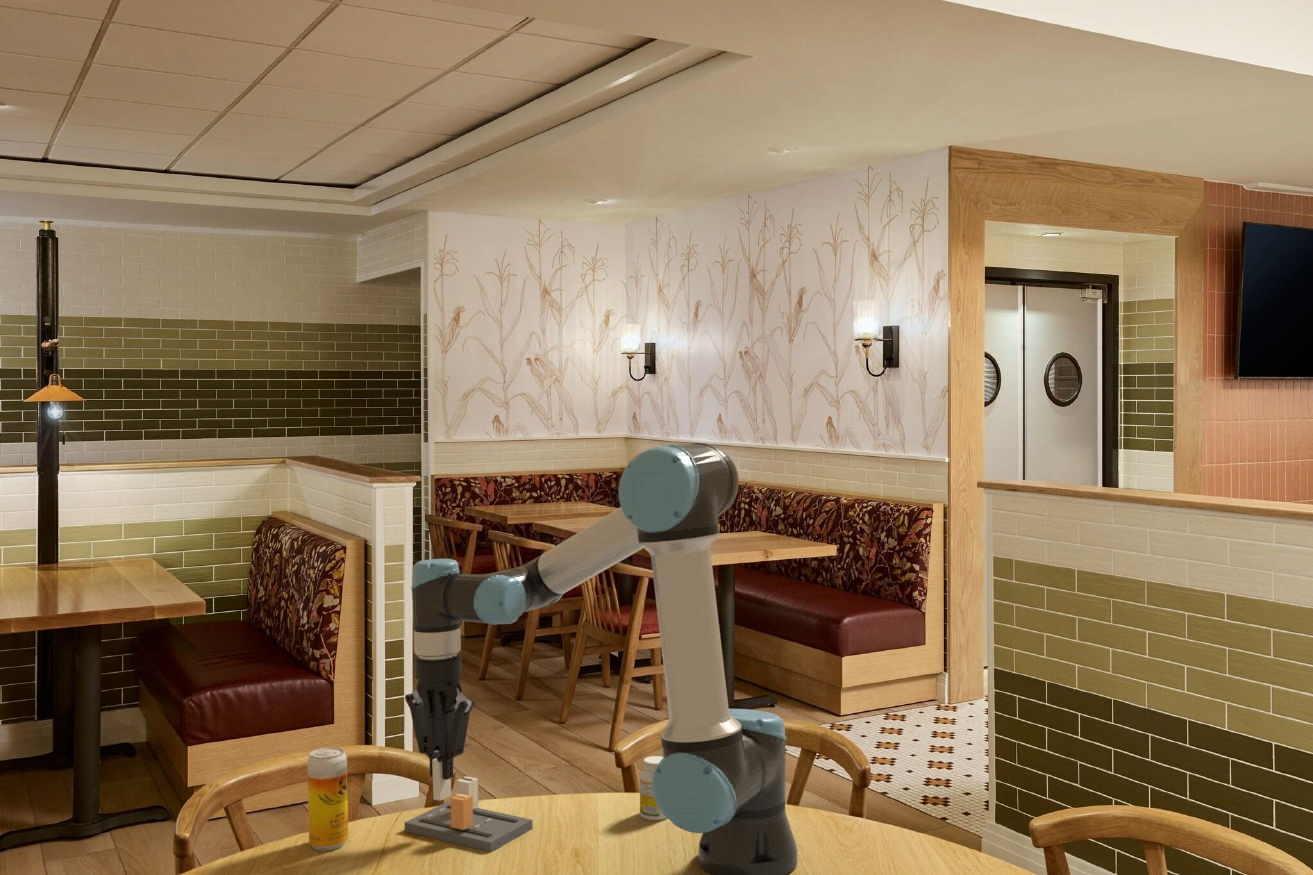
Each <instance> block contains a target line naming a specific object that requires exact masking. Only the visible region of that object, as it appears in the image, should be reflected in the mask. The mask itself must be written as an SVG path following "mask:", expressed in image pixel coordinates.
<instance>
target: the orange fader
mask: <svg viewBox="0 0 1313 875" xmlns="http://www.w3.org/2000/svg"><path fill="white" fill-rule="evenodd" d="M450 802H451V827H452V828H457V829H461V830H465V829H467V828H469V827H471V826H472V825H473V796H470V795H466V794H461V793H460V794H457V793H456V794H455V795H453V796H452V797H451V796H450Z"/></svg>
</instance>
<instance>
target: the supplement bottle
mask: <svg viewBox="0 0 1313 875" xmlns="http://www.w3.org/2000/svg"><path fill="white" fill-rule="evenodd" d="M662 759H663V756H660V755H659V756H658V755H655V756H648V757H645V758H644V759H643V768H644V769H643V771H641V773H640V774H639V814H640V817H642V818H643V819H644V820H648V821H662V820H665V819H667V818H666V817H665V816H664V815H663V813H662V812H661V811H660V809H659V807H658V806H657V803H656V801H655V798H654V795H653V790H652V780H653V775H654V772H655V770H656V768H657V766H658V765H659V763H660V761H661V760H662Z"/></svg>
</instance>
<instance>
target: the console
mask: <svg viewBox="0 0 1313 875" xmlns="http://www.w3.org/2000/svg"><path fill="white" fill-rule="evenodd" d="M531 830H533V819H531V818H525V817H520V816H516V815H514V814H513V815H511V814H507V813H504V812H499V811H498V812H497V811H493V810H488V809H485V808H480V807H476V808H474V809H473V825H472V826H471V827H469V828H467V829H465V830H461V829H457V828H452V827H451V801H446V802H443V803H442V804H440V805H437V806H436V807H434V808H432V809H429V810H427V811H426V812H423V813H421V814H418V815H417V816H415V817H412V818H411V819H409V820H406V821H405V822H404V832H405V833H410V834H415V835H419V836H423V837H427V838H432V839H435V840H439V841H444V842H448V843H452V844H456V845H460V846H465V847H468V848H472V849H478V850H482V851H486V852H489V853H492V852H494V851H496V850H497V849H499V848H500V847H503V846H505V845H506V844H508V843H510V842H511V841H513V840H515V839H517V838H519V837H520V836H522V835H523V834H526V833H527V832H529V831H531Z"/></svg>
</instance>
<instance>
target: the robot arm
mask: <svg viewBox="0 0 1313 875" xmlns="http://www.w3.org/2000/svg"><path fill="white" fill-rule="evenodd" d="M738 490H739V473H738V469H737V467H736V465H735V463H734V461H733V459H732V458H731V457H730V456H729V455H728V454H727V453H726V452H725V451H724V450H722V449H721V448H719V447H717V446H715V445H713V444H708V443H704V442H703V443H702V442H698V443H697V442H695V443H688V444H669V445H666V444H663V445H661V446H655V447H652V448H649V449H646V450H644V451H642V452H640V453H639V454H637V455H635V457H633V458H632V459H631V460H630V461H629V462H628V464H627V466H625V468H624V470H623V472H622V475H621V477H620V480H619V484H618V499H619V500H618V501H619V505H620V507H618V508H617V509H615V510H613V511H612V512H610V513H608V514H606V515H605V516H603V517H602V518H600V519H598V520H596V521H595V522H593V523H592V524H590V525H588V526H587V527H585V528H583V529H582V530H580V531H579V532H576V534H574V535H572V536H570V537H569V538H567V539H565V540H564V541H562V542H560V543H559V544H556V545H555V546H554V547H552V548H550V549H549V550H547V551H546V552H544V553H542V554H541V555H540V556H537V557H536V558H534V559H532V560H531V561H529V562H527V563H525V564H523V565H521V566H517V567H513V568H510V569H509V568H508V569H505V570H501V571H496V572H495V571H494V572H491V573H487V574H466V573H461V571H460V568H459V562H458V561H457V560H455V559H452V558H433V559H432V558H431V559H424V560H420V561H417V562H416V563H414V565H413V567H412V573H411V574H412V575H411V577H412V578H411V579H412V580H411V595H412V610H413V611H412V612H413V652H414V654H415V655H416V657H415V658H414V677H415V679H416V680H417V684H416V689H415V690H414V691H413V692H411V693H409V694H406V695H405V697H404V698H405V699H404V700H405V701H406V704H407V705H408V707H409V710H410V714H411V720H412V725H413V729H414V734H415V738H416V743H417V747H418V748H417V749H418V752H419V753H420V754H425V755H427V757H428V760H429V776H430V777H431V778H432V794H433V796H432V797H433V799H432V800H434V801H443V800H445V799H448V798H449V797H451V796H452V778H453V777H454V758H455V757H458V756H461V755H463V753H464V751H465V750H464V749H465V744H466V737H467V733H468V732H467V731H468V726H469V720H470V715H471V711H472V709H473V707H474V705H475V700H474V699H473V698H472V697H471V698H467V697H466V696H465V695H464V694H463V688H462V687H461V683H460V680H461V677H462V676H463V671H462V670H463V667H462V666H463V665H462V664H463V663H462V655H461V654H460V653H459V652H460V651H461V650H462V647H461V646H462V645H461V644H462V642H461V638H462V637H461V622H473V623H479V624H480V623H482V624H488V625H494V626H497V625H510V624H513V623H515V622H517V621H518V619H519V617H521V616H522V615H523V613H525V612H529V611H533V610H537V609H544V608H546V607H548V606H551V605H553V604H555V603H557V602H558V601H559V600H561V599H562V597H563V595H564V594H565V593H567V592H569V591H571V590H572V589H575V587H578V586H579V585H581V584H583V583H584V582H587V581H588V580H590V579H592V578H593V577H595V576H597V575H598V574H601V573H602V572H604V571H605V570H607V569H609V568H611V567H613V566H614V565H616V564H618V563H620V562H622V561H623V560H625V559H627V558H628V557H631V556H632V555H635V553H637V552H639V551H641V550H643V549H644V550H645V551H646V552H647V553H649V555H650V558H651V559H650V560H651V561H650V562H651V569H652V577H653V586H654V592H655V593H654V594H655V603H656V613H657V619H658V620H657V623H658V629H659V630H658V631H659V637H660V645H661V646H660V647H661V655H662V662H663V674H664V683H665V690H666V697H667V707H668V715H669V721H668V722H667V724H666V725H665V726H664V728H663V729H662V730H661V731H660V739H661V750H662V757H663V759H662V760H661V761H660V763H659V765H658V766H657V768H656V770H655V772H654V775H653V780H652V790H653V795H654V798H655V801H656V803H657V806H658V807H659V809H660V811H661V812H662V813H663V815H664V816H665V817H666V819H668V820H669V822H671V823H672V824H673V825H674V826H676V827H677V828H679V829H681V830H683V831H685V832H689V833H692V834H701V836H700V839H699V842H698V863H699V865H700V866H701V868H702V869H703V870H705V871H706V872H708V873H710V874H712V875H787V874H789V873H791V872H793V871H794V870H795V868H797V866H798V848H797V843H796V840H795V837H794V835H793V831H792V827H791V824H790V822H789V818H788V815H787V812H786V741H787V736H786V730H785V729H786V728H785V722H784V719H783V718H781V717H780V716H779V715H778V714H775V713H772V712H769V711H768V712H767V711H763V710H758V709H748V708H747V709H746V708H729V701H728V694H727V693H728V692H727V684H726V676H725V667H724V657H723V649H722V641H721V640H722V639H721V631H720V630H721V629H720V623H719V614H718V606H717V596H716V588H715V579H714V570H713V561H712V553H711V552H712V551H711V547H712V545H713V544H714V542H715V541H716V540H717V538H718V537H720V536H719V535H720V531H719V521H718V517H720V516H721V515H722V514H724V513H725V512H726V511H727V510H728V509H729V508H730V507H731V506H732V505H733V503H734V501H735V499H736V497H737V494H738Z"/></svg>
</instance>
